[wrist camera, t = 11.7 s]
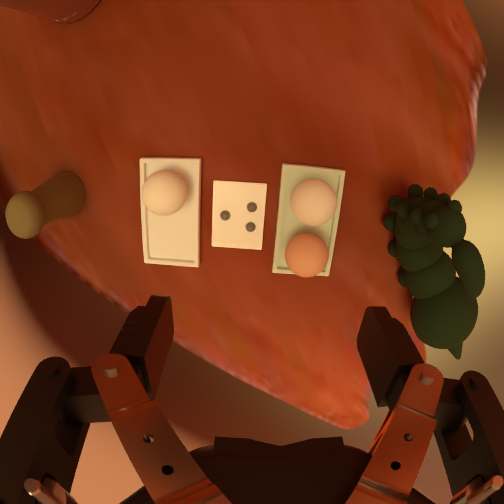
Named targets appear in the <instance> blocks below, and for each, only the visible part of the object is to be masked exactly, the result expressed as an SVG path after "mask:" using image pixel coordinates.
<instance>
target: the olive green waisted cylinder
mask: <svg viewBox="0 0 504 504" xmlns="http://www.w3.org/2000/svg"><path fill="white" fill-rule="evenodd" d="M84 201H85V189H84V186H83V183H82V182H81V180H80V179H79V177H78V176H76V175H75V174H74V173H71V172H69V171H65V172H61V173H59V174H57V175H56V176H54V177H52V178H51V179H49V180H48V181H46V182H45V183H43V184H42V185H40V186H39V187H37V188H36V189H34V190H33V191H32V192H30V191H24V192H19V193H17V194H16V195H14V196H13V197H12V198H11V199H10V201H9V202H8V205H7V208H6V221H7V224H8V226H9V228H10V230H11V231H12V233H14V234H15V235H16V236H18V237H20V238H25V239H26V238H27V239H28V238H31V237H33V236H35V235H37V234H38V233H39V232H40V230H41V229H42V228H43V226H44V225H46V224H48V223H51V222H54V221H57V220H59V219H62V218H65V217H68V216H71V215H73V214H76V213H78V212H79V211H80V210H81V209H82V207H83V205H84Z"/></svg>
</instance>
